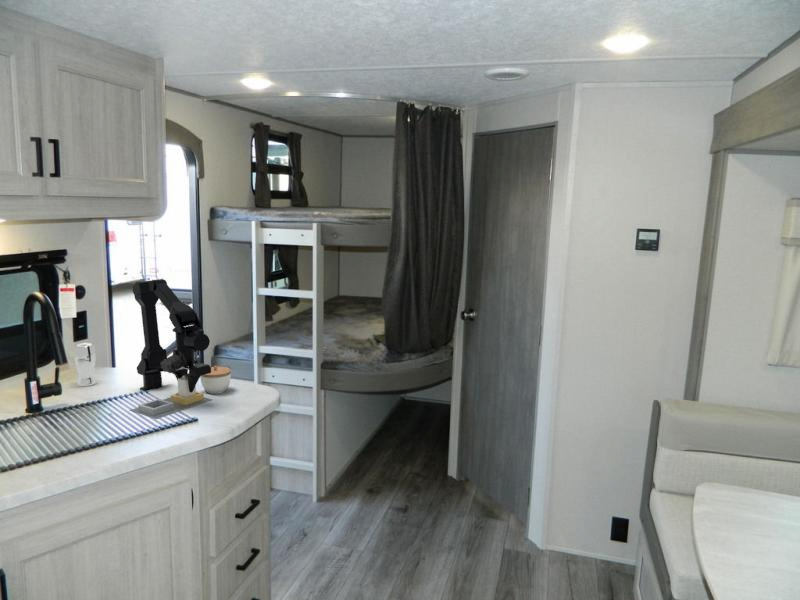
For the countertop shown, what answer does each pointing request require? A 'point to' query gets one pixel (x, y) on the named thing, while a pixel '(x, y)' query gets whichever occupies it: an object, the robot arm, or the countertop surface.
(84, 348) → the beer glass
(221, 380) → the lidded jar
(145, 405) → the multicoloured flat piece
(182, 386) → the plug
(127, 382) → the countertop surface
